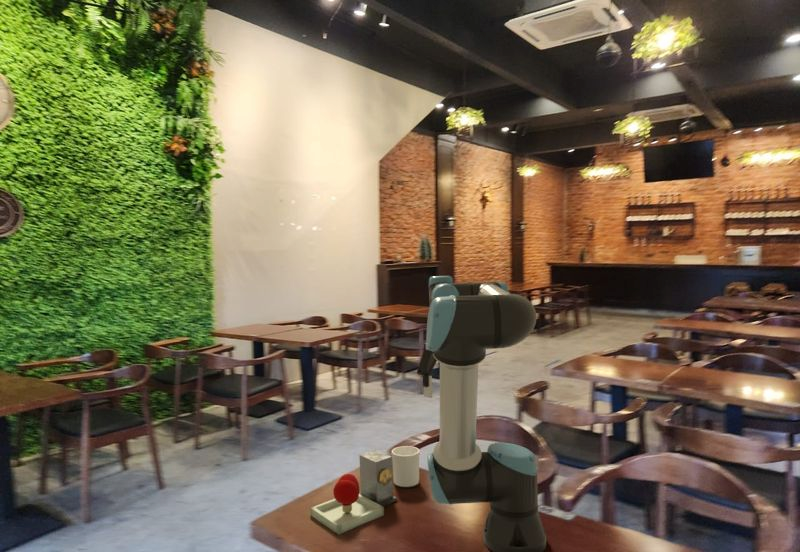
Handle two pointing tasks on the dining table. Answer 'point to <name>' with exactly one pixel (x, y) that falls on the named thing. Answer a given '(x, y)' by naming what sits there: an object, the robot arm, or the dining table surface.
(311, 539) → the dining table surface
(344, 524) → the tray
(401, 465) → the mug
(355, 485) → the red rounded piece
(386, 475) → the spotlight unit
